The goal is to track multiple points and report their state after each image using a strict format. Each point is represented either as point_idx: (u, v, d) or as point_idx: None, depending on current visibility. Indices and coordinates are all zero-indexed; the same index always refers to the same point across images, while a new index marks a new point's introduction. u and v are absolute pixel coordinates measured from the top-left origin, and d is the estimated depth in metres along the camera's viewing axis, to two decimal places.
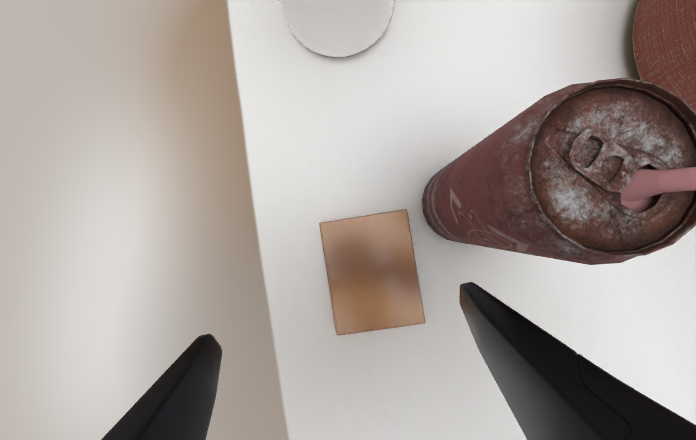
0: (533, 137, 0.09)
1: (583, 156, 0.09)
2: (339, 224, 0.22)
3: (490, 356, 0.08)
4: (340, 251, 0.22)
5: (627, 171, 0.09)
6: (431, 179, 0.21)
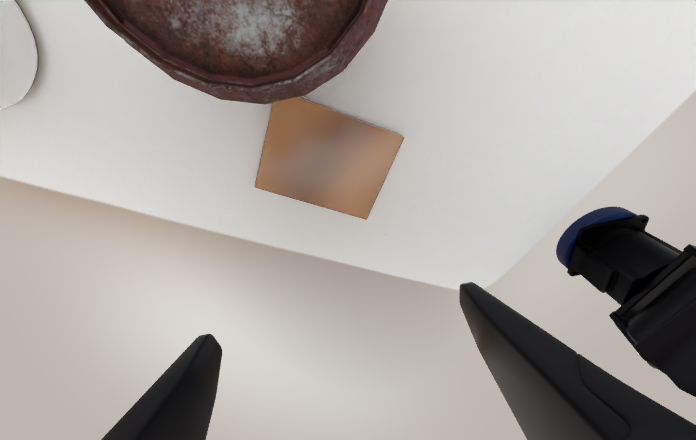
0: (117, 23, 0.05)
1: None
2: (263, 169, 0.20)
3: (490, 356, 0.08)
4: (291, 181, 0.20)
5: None
6: None
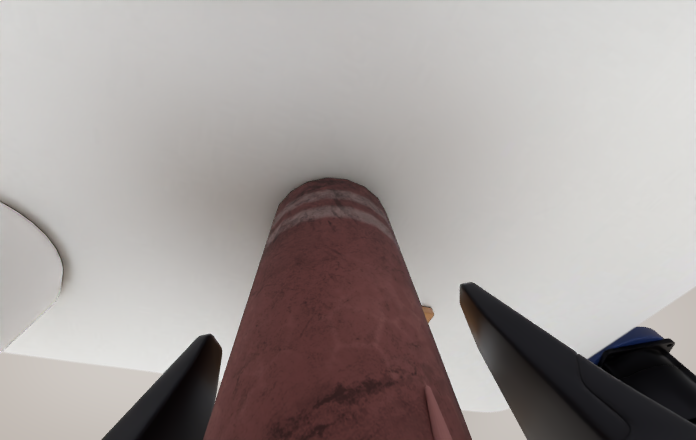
0: None
1: None
2: None
3: (490, 356, 0.08)
4: None
5: None
6: None
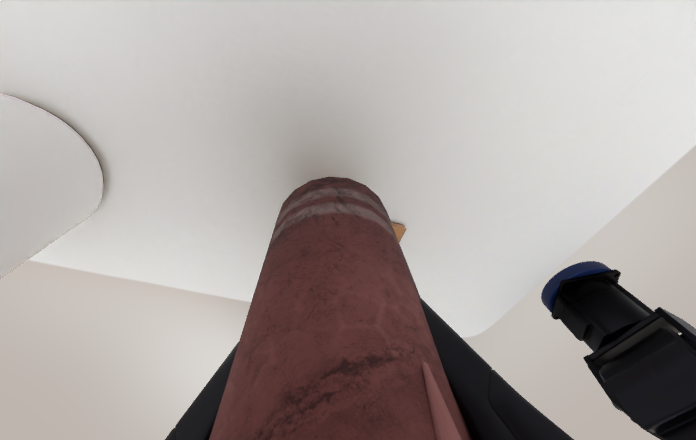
0: None
1: None
2: None
3: None
4: None
5: None
6: None
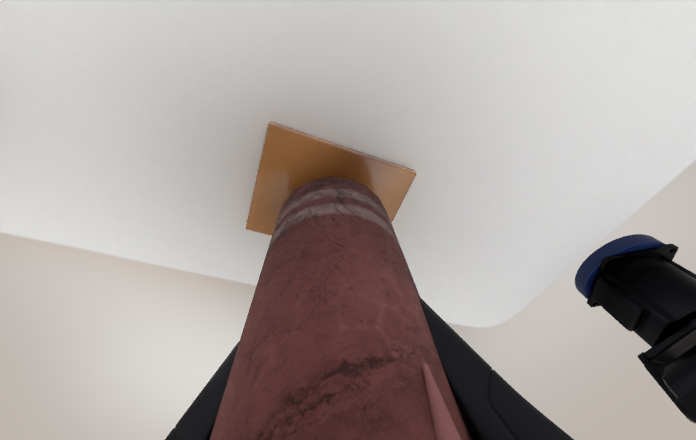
0: None
1: None
2: (255, 210, 0.17)
3: None
4: None
5: None
6: None
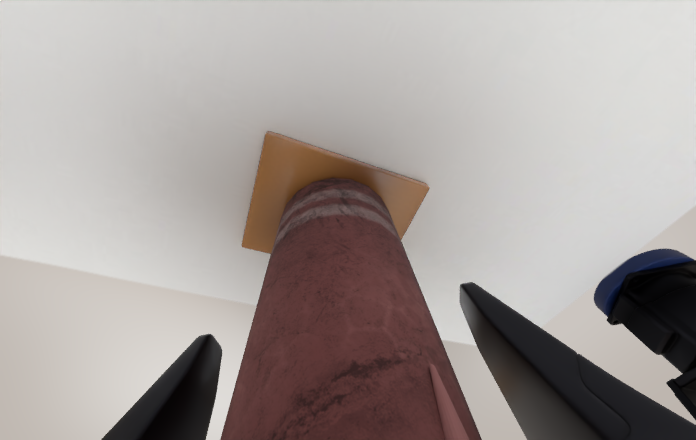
0: None
1: None
2: (251, 226, 0.16)
3: (490, 356, 0.08)
4: None
5: None
6: None
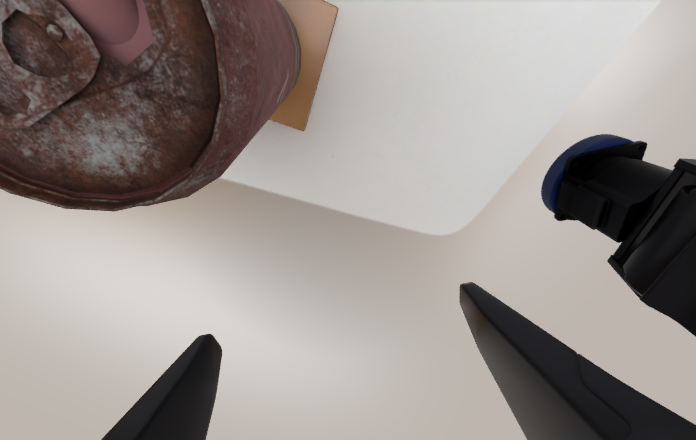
0: None
1: (10, 84, 0.04)
2: None
3: (490, 356, 0.08)
4: None
5: (51, 12, 0.04)
6: None
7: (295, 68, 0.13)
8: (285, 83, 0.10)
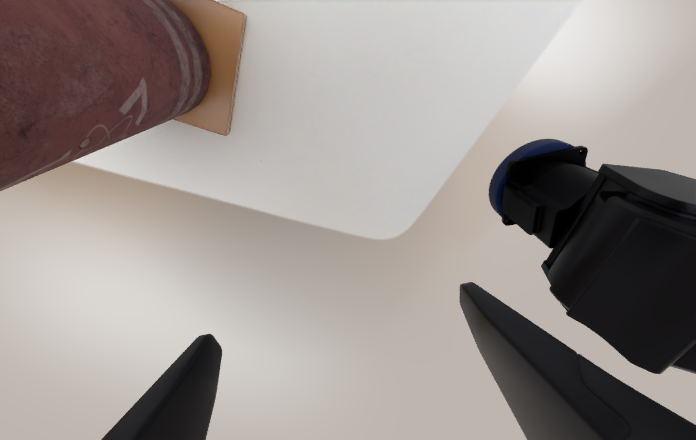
0: None
1: None
2: None
3: (490, 356, 0.08)
4: None
5: None
6: None
7: (183, 75, 0.13)
8: (140, 92, 0.10)
